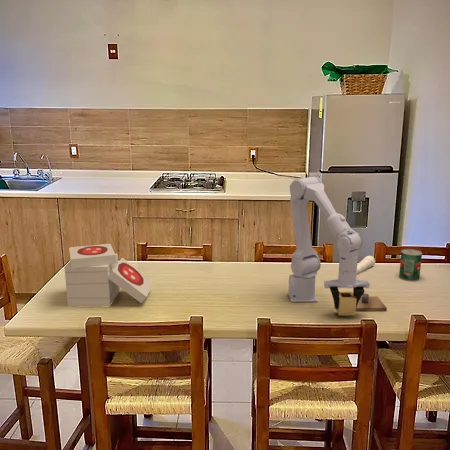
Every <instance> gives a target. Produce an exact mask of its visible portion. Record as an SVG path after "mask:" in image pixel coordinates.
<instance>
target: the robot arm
mask: <svg viewBox="0 0 450 450" xmlns="http://www.w3.org/2000/svg"><path fill="white" fill-rule="evenodd" d="M289 192H290V199H289V201H290V203H289V204H290V207H291V208H290V209H291V218H292V224H293V225H292V226H293V232H294V239H295V248H296V249H295V251H294V252H293V253H292V255H291V263H290V268H291V271H292V274H289V276H288V293H287V294H288V297H289V300H290V303H291V302H293V303H309V302H311V303H316V302H318V299H317V296H316V294H315V293H316V276H317V275H318V272H319V270H320V269H321V267H322V266H321V265H322V264H321V259H320V258H319V255H318V254H319V253H318V251H317V250H315V248H313V246H312V239H311V229H310V221H309V213H308V207H307V204H308V203H309V201H313V202H314V203H315V204H316V206H317V207H318V208H319V209H320V210H321V212H322V213H323V215H324V216H325V218H327V219H326V220H327V221H326V225H327V227H328V228H329V230H330V231H331V234H332V235H334V238H335V239H336V240H337V241H336V248H337V250H338V255H339V260H338V261H339V263H338V276H337V277H338V278H337V279H332V280H324V283H323V284H324V285H323V287H324V289H329V290H330V293H331V296H332V299H333V300H332V301H333V304H334V305H333V306H334V310H335V309H338V298H339V293H340V292H341V291H339V289H340V288H342V289H343V288H344V289H345V288H347V289H352V292H353V294H354V295H355V297H356V298H357V300H356V308H357V304H358V302H359V300H360V298H361V297H362V295H363V294H365V289H370V285H371V284H370V283H371V282H370V281H369V280H361V279H360V280H359V279H357V275H358V274H357V264H358V260H359V259H358V258H359V249H361V248H362V247H363V243H364V242H363V237H362V235H361V234H360V233H359V232H357V231H355V230H354V229H352V228H351V226H350V225H349V223H348V222H347V220H346V217H345V216H344V215H343V214H341V213H338V212H337V211H336V209H335V208H334V206H333V204H332V202H331V200H330V199H329V197H328V195H327V194H326V192H325V185H324V183H323V182H322V180H321V179H320V177H318V176H314V175H313V176H309V177H308V176H307V177H301V178H294V179H293V181H292V182H291V183H290V185H289Z"/></svg>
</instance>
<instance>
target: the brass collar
mask: <svg viewBox="0 0 450 450" xmlns="http://www.w3.org/2000/svg"><path fill="white" fill-rule="evenodd" d="M339 292H340V293H339V298H338V309H335V308H334V310H335V311H336V312H337V314H338V316H356V314H357V311H356V300H357V298H356V297H355V295H354V294H353V291H339Z"/></svg>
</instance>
